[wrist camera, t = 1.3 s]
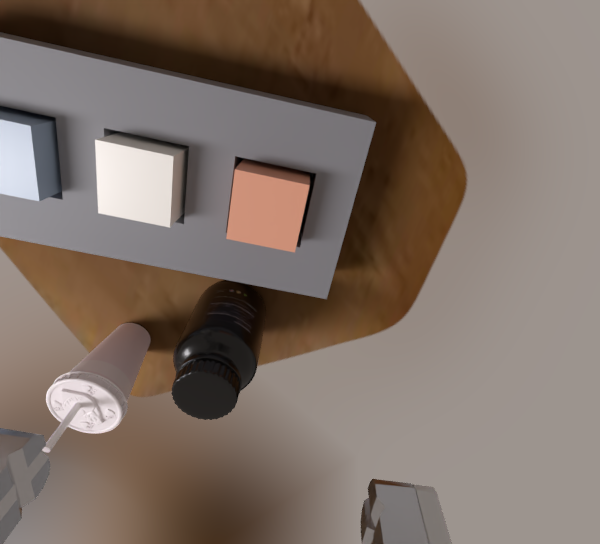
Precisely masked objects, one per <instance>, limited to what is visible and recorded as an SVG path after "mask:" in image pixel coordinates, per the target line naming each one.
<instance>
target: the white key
mask: <svg viewBox="0 0 600 544" xmlns="http://www.w3.org/2000/svg"><path fill="white" fill-rule="evenodd" d="M95 152H96V175H97V198H98V213H100V214H105V215H110V216H115V217H120V218H125V219H130V220H135V221H140V222H145V223H150V224H155V225H160V226H165V227H171V226H172V225H173V224H174V223H175V222H176V221H177V220H178V219H179V218H180V217H181V215H182V214H183V213H184V212H185V201H186V186H187V171H188V156H189V146H186V145H181V144H176V143H172V142H167V141H162V140H158V139H153V138H148V137H144V136H139V135H134V134H130V133H125V132H120V133H116V134H113V135H109V136H106V137H102V138H99V139H95Z"/></svg>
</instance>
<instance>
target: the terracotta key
mask: <svg viewBox="0 0 600 544" xmlns="http://www.w3.org/2000/svg"><path fill="white" fill-rule="evenodd" d="M309 186H310V172H306V171H302V170H297V169H293V168H288V167H283V166H279V165H274V164H269V163H265V162H260V161H255V160H251V159H246V158H244V159H243V160H242V161H241V163H240V164H239V165H238V166H237V167H236V169H235V172H234V180H233V188H232V196H231V204H230V213H229V221H228V229H227V237H226V239H230V240H235V241H240V242H245V243H250V244H255V245H260V246H265V247H270V248H275V249H280V250H285V251H290V252H295V250H296V245H297V241H298V236H299V232H300V227H301V223H302V218H303V214H304V209H305V204H306V200H307V195H308V191H309Z"/></svg>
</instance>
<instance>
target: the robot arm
mask: <svg viewBox="0 0 600 544" xmlns="http://www.w3.org/2000/svg"><path fill="white" fill-rule="evenodd" d="M45 446H46V442H45V439H44V435H39V434H33V433H26V432H21V431H14V430H8V429H2V428H0V544H3V543H4V542H5V540H6V539H7V537H8V536H9V535H10V533H11V532H12V530H13V529H14V528H15V526H16V525H17V524H18V522H19V521H20V520H21V518H22V507H24V506H25V505H27V504H29V503H30V502H32V501H33V500H35V499H36V497H37V496H38V495H39V493H40V492H41V490H42V489H43V487H44V485H45V483H46V480H47V478H48V475H49V471H50V461H49V457H48V456H47V455H46V454H45V453H44V452H43V451H42V449H43V448H44V447H45ZM368 495H369V498H368V499H366V500H365V501H364V504H363V508H362V514H361V540H362V544H452V542H451V539H450V536H449V532H448V529H447V526H446V523H445V519H444V516H443V512H442V509H441V506H440V502H439V500H438V496H437V492H436V491H435V489H434V488H433V487H429V486H420V485H412V484H409V483H402V482H393V481H385V480H377V479H372V480H371V481H370V483H369V486H368Z"/></svg>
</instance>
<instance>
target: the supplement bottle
mask: <svg viewBox="0 0 600 544" xmlns="http://www.w3.org/2000/svg"><path fill="white" fill-rule="evenodd" d="M265 318H266V309H265V305H264V302H263V300H262V298H261V297H260V295H259V294H258V293H257V292H256V291H255V290H254V289H252V288H251V287H249V286H247V285H245V284H243V283H239V282H234V281H225V282H220V283H216V284H214V285H212V286H211V287H209V288H208V289H207V290H205V292H204V293H203V294H202V295H201V297H200V299H199V301H198V303H197V305H196V307H195V309H194V311H193V313H192V315H191V317H190V319H189V321H188V323H187V325H186V327H185V329H184V331H183V333H182V335H181V337H180V339H179V341H178V343H177V345H176V348H175V351H174V356H173V362H174V367H175V370H176V378H175V381H174V383H173V387H172V395H173V399H174V401H175V404H176V405H177V406H178V408H180V409H181V410H182V411H183V412H185V413H187V414H188V415H191V416H192V417H196V418H198V419H205V420H206V419H210V420H212V419H218V418H220V417H223V416H224V415H227V414H228V413H229V412H231V411H232V409H233V408H234V407H235V405H236V403H237V399H238V395H239V393H240V391H241V390H242V389H244V388H245V387H246V386H247V385H248V384H249V383H250V382H251V381H252V379H253V377H254V375H255V373H256V369H257V365H258V359H259V353H260V348H261V342H262V336H263V331H264V325H265Z"/></svg>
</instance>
